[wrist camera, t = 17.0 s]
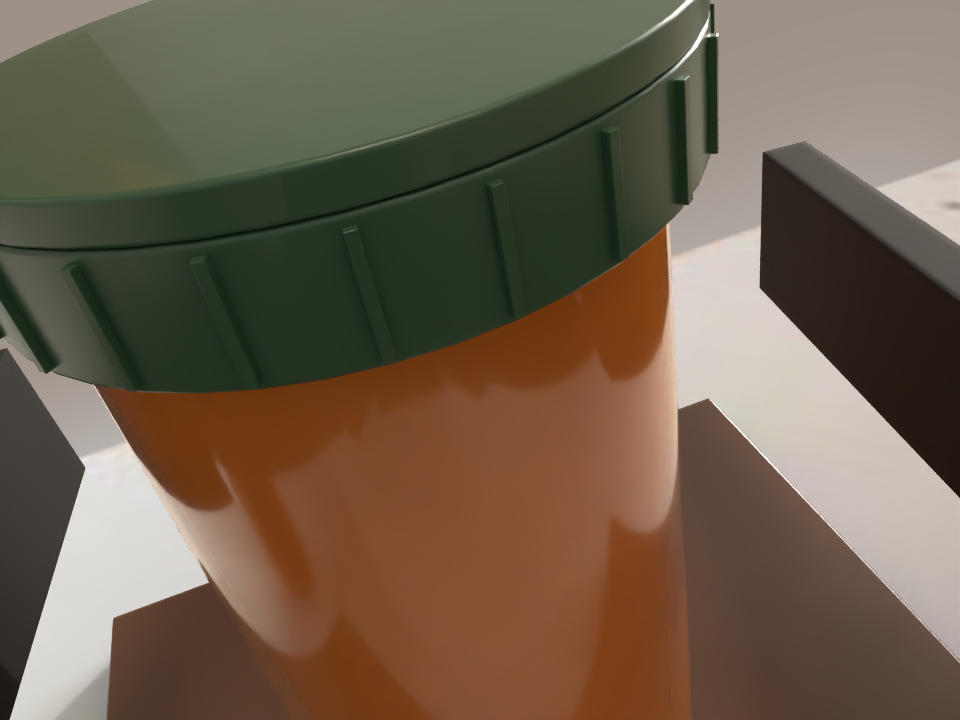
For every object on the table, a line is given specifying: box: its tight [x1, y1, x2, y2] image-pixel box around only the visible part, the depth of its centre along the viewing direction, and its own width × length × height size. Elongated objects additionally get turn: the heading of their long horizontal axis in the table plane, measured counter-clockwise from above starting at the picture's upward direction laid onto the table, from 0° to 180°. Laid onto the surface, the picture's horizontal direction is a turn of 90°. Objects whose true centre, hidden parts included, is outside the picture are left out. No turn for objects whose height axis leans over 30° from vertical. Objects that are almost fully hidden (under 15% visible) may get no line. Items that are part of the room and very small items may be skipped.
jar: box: [93, 222, 692, 720], centre depth 12 cm, size 7×7×12 cm
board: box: [107, 399, 960, 720], centre depth 16 cm, size 16×12×1 cm
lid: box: [0, 0, 719, 394], centre depth 9 cm, size 8×8×2 cm
